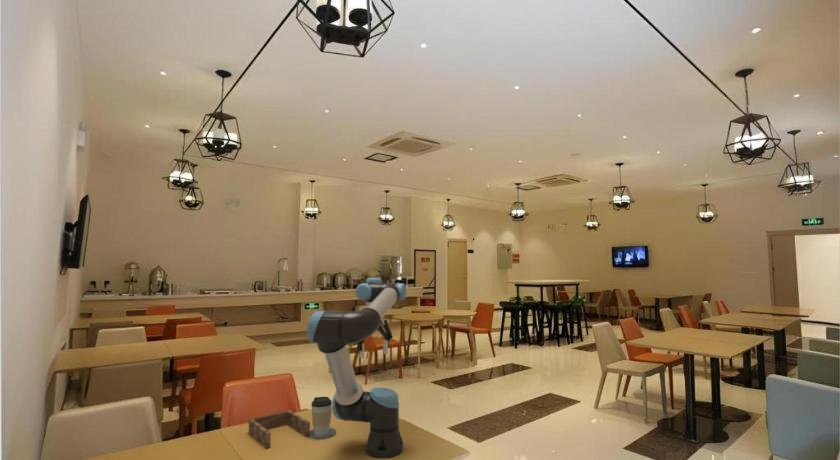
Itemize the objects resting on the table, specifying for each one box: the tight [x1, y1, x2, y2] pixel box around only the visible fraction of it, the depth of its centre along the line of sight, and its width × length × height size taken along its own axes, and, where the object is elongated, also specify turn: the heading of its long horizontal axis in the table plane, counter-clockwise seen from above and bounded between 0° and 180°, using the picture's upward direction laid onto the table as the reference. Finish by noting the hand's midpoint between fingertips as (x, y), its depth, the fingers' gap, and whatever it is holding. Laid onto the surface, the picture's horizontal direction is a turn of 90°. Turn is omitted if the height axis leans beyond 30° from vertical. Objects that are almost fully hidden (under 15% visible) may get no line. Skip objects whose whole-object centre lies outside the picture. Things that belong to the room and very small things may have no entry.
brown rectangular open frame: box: [248, 409, 311, 450], centre depth 189 cm, size 22×19×6 cm
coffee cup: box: [310, 396, 332, 436], centre depth 190 cm, size 9×9×15 cm
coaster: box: [308, 427, 337, 440], centre depth 190 cm, size 12×12×1 cm
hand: (374, 355), depth 202 cm, fingers open, 13 cm apart
